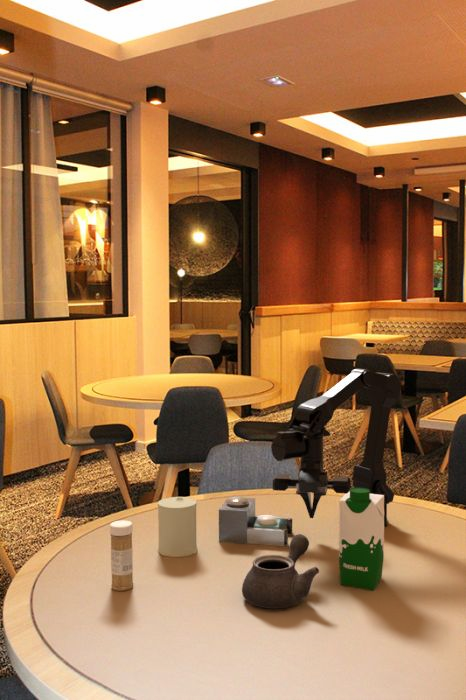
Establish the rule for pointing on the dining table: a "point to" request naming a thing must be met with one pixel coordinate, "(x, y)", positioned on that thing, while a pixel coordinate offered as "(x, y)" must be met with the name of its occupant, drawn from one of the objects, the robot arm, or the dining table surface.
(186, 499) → the can
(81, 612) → the dining table surface
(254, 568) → the teapot
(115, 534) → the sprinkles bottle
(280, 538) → the motor mount
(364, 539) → the milk carton
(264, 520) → the teal cube with ball
